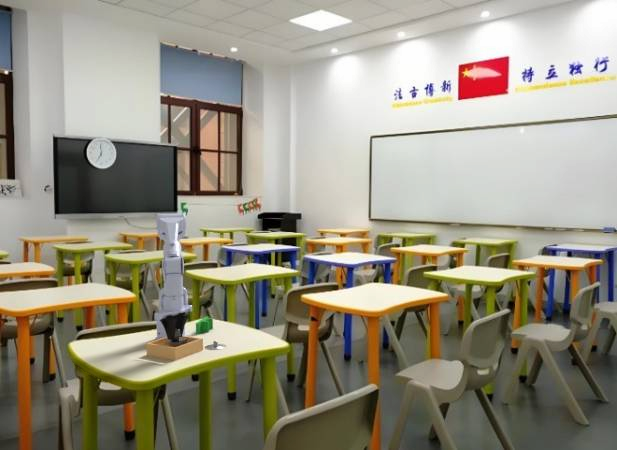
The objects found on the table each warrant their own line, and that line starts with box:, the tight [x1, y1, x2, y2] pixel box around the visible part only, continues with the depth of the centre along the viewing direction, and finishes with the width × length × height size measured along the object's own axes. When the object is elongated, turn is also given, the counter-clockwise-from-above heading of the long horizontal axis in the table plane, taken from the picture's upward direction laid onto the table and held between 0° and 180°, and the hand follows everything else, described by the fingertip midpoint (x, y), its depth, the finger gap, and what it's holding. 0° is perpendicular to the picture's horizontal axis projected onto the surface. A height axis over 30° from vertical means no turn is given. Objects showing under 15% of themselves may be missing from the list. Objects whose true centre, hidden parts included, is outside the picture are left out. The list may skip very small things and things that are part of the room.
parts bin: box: [145, 336, 204, 361], centre depth 159 cm, size 12×12×4 cm
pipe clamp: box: [195, 316, 214, 335], centre depth 187 cm, size 11×4×5 cm, turn 173°
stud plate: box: [204, 340, 227, 351], centre depth 164 cm, size 7×7×2 cm
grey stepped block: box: [164, 328, 188, 347], centre depth 158 cm, size 5×5×7 cm
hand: (174, 338), depth 159 cm, fingers closed on grey stepped block, 3 cm apart
